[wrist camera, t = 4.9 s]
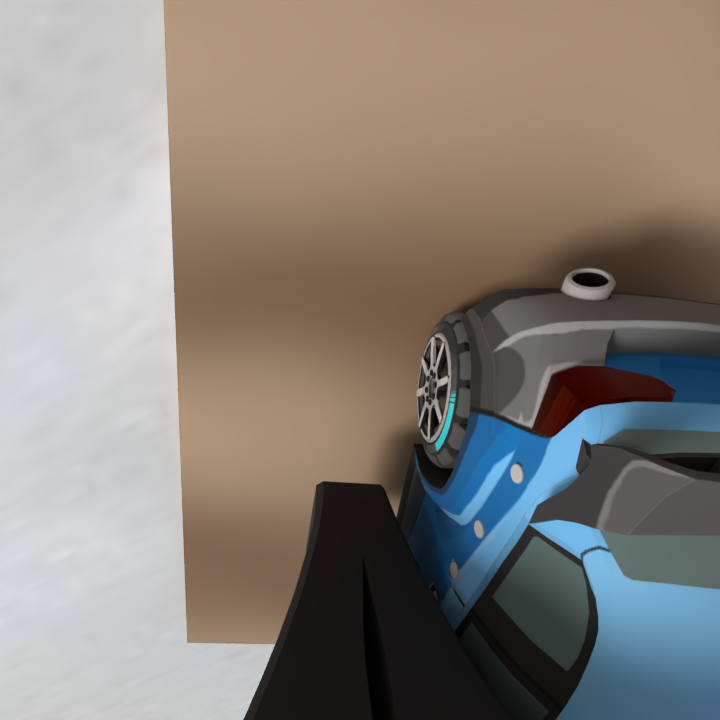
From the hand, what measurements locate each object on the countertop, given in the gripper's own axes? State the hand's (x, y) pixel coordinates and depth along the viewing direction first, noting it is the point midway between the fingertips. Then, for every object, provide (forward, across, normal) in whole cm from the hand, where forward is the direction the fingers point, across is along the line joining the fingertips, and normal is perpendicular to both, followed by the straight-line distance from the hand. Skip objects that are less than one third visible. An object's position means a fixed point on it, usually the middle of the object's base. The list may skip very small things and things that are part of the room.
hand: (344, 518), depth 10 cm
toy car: (+2, -4, 0) cm, 4 cm away
